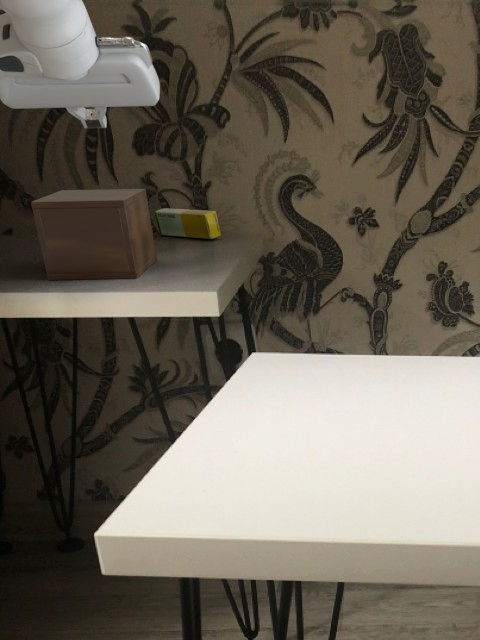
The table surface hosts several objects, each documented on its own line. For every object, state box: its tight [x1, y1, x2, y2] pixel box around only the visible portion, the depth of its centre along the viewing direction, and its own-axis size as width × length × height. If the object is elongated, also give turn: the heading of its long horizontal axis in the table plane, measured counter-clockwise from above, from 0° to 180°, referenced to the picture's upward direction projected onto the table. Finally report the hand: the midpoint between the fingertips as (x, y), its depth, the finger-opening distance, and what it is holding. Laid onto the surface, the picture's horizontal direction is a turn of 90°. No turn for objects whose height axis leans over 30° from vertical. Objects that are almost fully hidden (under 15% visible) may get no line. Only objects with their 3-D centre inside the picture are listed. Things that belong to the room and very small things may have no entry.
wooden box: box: [30, 188, 158, 281], centre depth 125 cm, size 14×12×10 cm
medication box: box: [154, 207, 222, 240], centre depth 151 cm, size 12×3×4 cm, turn 59°
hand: (95, 124), depth 125 cm, fingers closed
